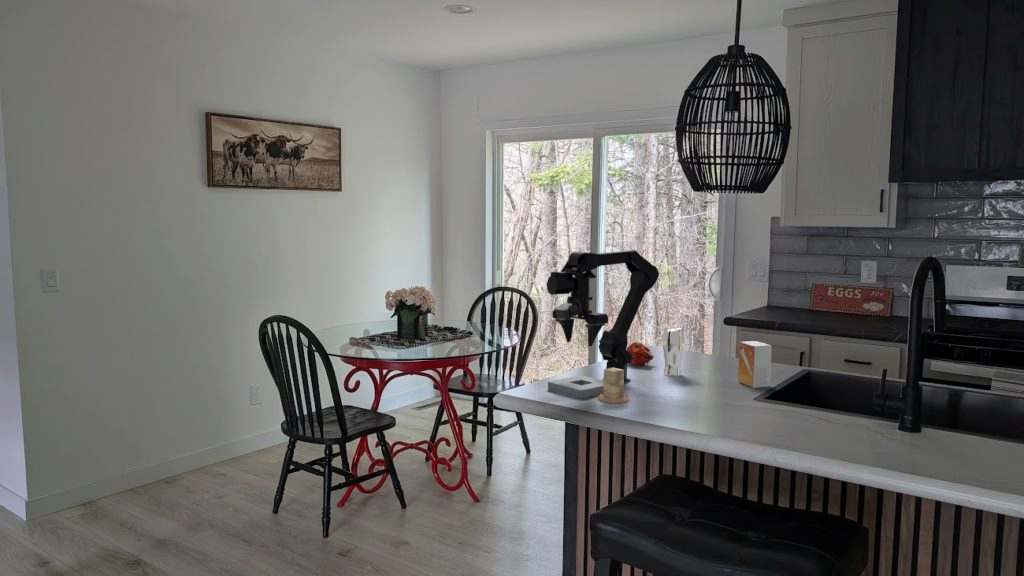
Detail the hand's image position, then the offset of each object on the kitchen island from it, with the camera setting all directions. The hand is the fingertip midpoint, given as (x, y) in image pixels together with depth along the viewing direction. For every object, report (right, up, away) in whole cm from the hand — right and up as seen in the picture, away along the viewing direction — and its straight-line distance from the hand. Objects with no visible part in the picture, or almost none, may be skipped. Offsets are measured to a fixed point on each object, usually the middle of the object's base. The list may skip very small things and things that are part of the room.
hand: (579, 344), depth 223 cm
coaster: (+8, -15, -15) cm, 22 cm away
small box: (+55, -13, +4) cm, 57 cm away
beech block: (+8, -14, -15) cm, 22 cm away
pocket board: (0, -14, -5) cm, 14 cm away
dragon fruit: (+24, -10, +33) cm, 42 cm away
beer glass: (+33, -12, +18) cm, 39 cm away
